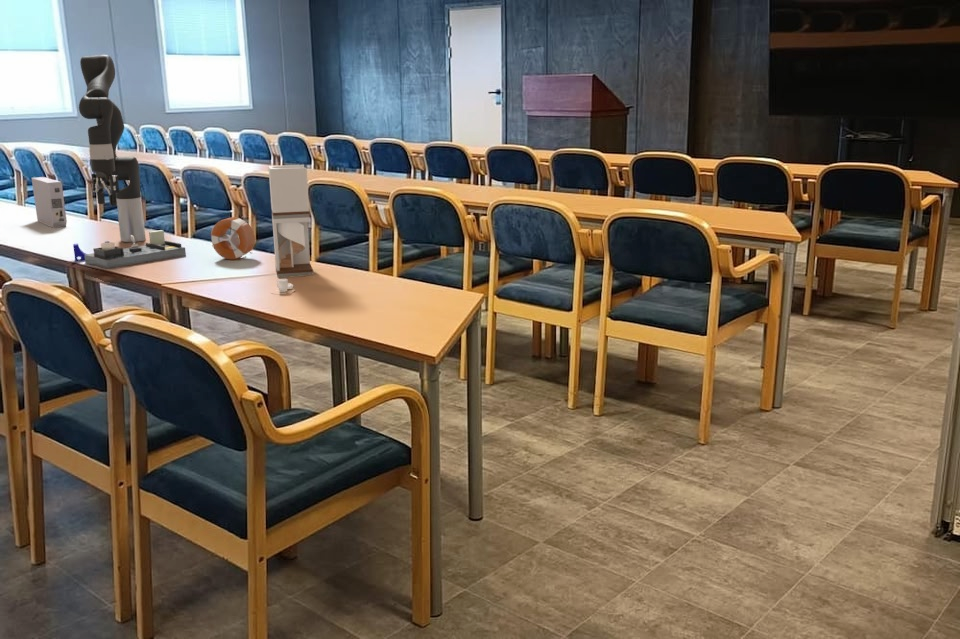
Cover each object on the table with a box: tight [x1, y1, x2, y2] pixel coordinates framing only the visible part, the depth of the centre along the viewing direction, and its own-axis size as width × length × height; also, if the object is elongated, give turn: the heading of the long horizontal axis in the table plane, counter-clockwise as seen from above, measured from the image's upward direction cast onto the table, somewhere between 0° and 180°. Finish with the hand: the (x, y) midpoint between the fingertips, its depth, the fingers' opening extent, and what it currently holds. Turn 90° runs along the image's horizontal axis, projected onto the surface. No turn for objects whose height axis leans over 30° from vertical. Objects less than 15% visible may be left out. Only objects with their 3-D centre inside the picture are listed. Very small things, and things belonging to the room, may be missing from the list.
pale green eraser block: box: [148, 229, 166, 245], centre depth 330 cm, size 2×5×5 cm, turn 139°
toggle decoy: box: [130, 235, 140, 248], centre depth 320 cm, size 1×2×5 cm, turn 139°
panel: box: [84, 240, 187, 270], centre depth 320 cm, size 16×30×6 cm, turn 139°
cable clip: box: [72, 241, 110, 262], centre depth 322 cm, size 12×4×6 cm, turn 113°
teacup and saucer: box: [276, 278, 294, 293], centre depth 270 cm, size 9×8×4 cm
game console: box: [31, 176, 68, 228], centre depth 398 cm, size 6×27×20 cm, turn 40°
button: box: [100, 241, 115, 250], centre depth 312 cm, size 4×4×3 cm
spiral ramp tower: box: [268, 164, 314, 278], centre depth 291 cm, size 11×11×35 cm
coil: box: [210, 215, 256, 261], centre depth 318 cm, size 7×15×15 cm, turn 78°
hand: (107, 204), depth 308 cm, fingers open, 8 cm apart
